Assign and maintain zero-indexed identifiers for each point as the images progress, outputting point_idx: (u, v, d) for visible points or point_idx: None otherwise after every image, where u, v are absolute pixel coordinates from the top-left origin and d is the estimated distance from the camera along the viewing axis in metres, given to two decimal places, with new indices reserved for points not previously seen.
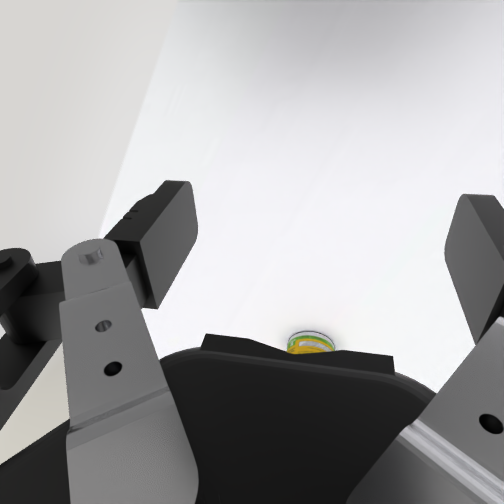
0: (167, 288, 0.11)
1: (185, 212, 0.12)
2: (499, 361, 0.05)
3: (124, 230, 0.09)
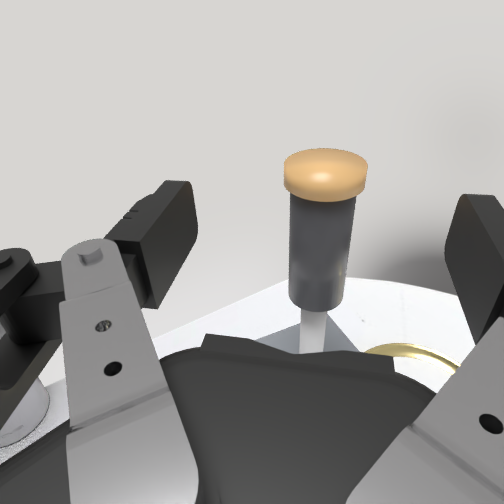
0: (167, 288, 0.11)
1: (185, 212, 0.12)
2: (499, 361, 0.05)
3: (124, 230, 0.09)
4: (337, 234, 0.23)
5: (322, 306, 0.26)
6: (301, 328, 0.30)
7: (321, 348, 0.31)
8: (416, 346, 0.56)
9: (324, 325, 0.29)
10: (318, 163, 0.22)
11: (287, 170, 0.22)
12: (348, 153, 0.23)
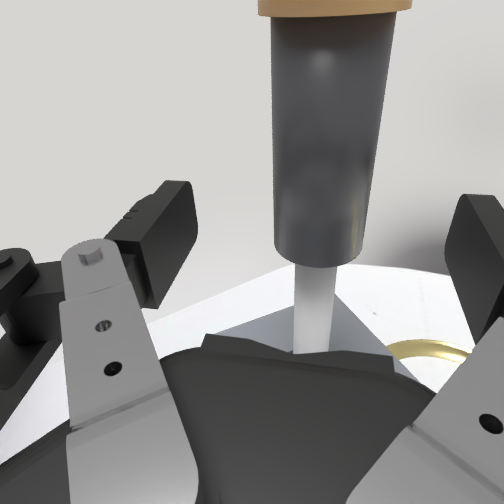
0: (167, 288, 0.11)
1: (185, 212, 0.12)
2: (499, 361, 0.05)
3: (124, 230, 0.09)
4: (358, 107, 0.12)
5: (329, 257, 0.15)
6: (295, 302, 0.19)
7: (327, 334, 0.20)
8: (442, 342, 0.45)
9: (331, 296, 0.19)
10: None
11: None
12: None
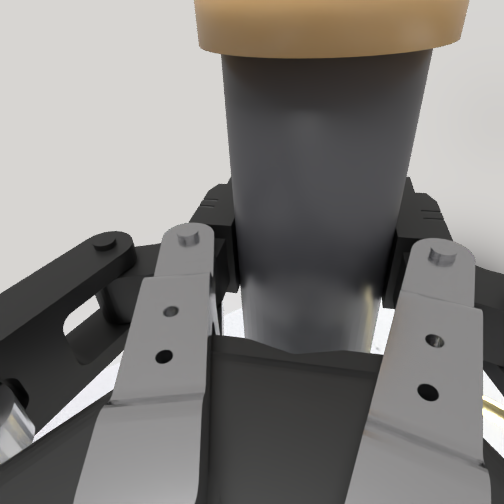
0: None
1: None
2: (414, 331, 0.05)
3: (212, 215, 0.10)
4: (366, 200, 0.07)
5: None
6: None
7: None
8: None
9: None
10: None
11: None
12: None
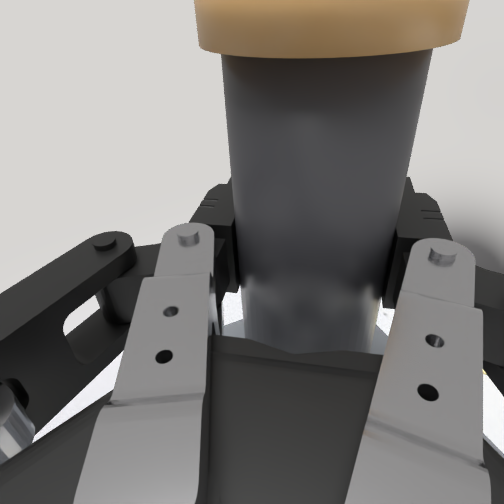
0: None
1: None
2: (414, 331, 0.05)
3: (212, 215, 0.10)
4: (366, 200, 0.07)
5: None
6: None
7: None
8: None
9: None
10: None
11: None
12: None
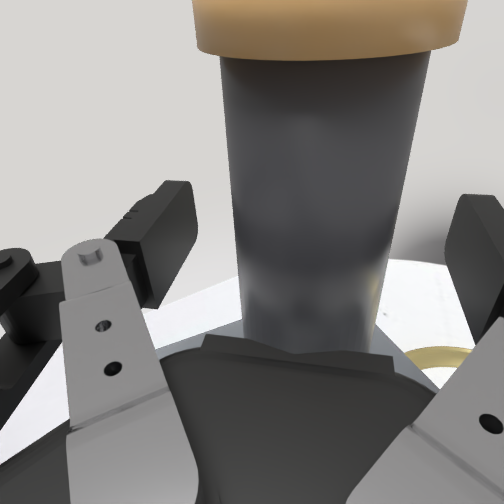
0: (167, 288, 0.11)
1: (185, 212, 0.12)
2: (499, 361, 0.05)
3: (124, 230, 0.09)
4: (365, 202, 0.07)
5: None
6: None
7: None
8: (469, 350, 0.36)
9: None
10: None
11: None
12: None
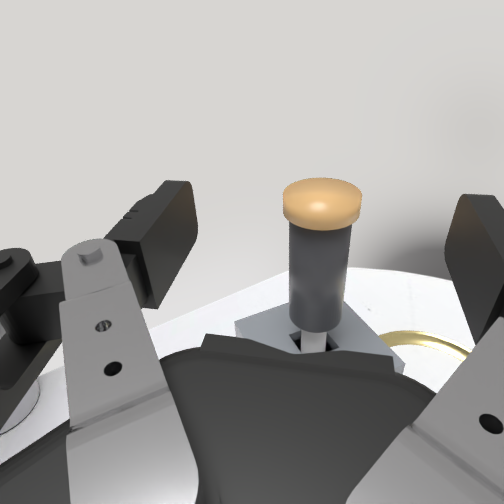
0: (167, 288, 0.11)
1: (185, 212, 0.12)
2: (499, 361, 0.05)
3: (124, 230, 0.09)
4: (334, 260, 0.24)
5: (321, 327, 0.27)
6: (302, 347, 0.31)
7: None
8: (425, 333, 0.53)
9: (324, 344, 0.30)
10: (315, 193, 0.23)
11: (286, 200, 0.23)
12: (344, 183, 0.24)
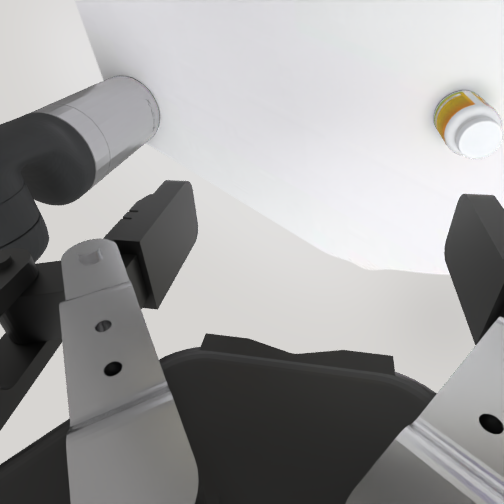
0: (167, 288, 0.11)
1: (185, 212, 0.12)
2: (499, 361, 0.05)
3: (124, 230, 0.09)
4: None
5: None
6: None
7: None
8: None
9: None
10: None
11: None
12: None
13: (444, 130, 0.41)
